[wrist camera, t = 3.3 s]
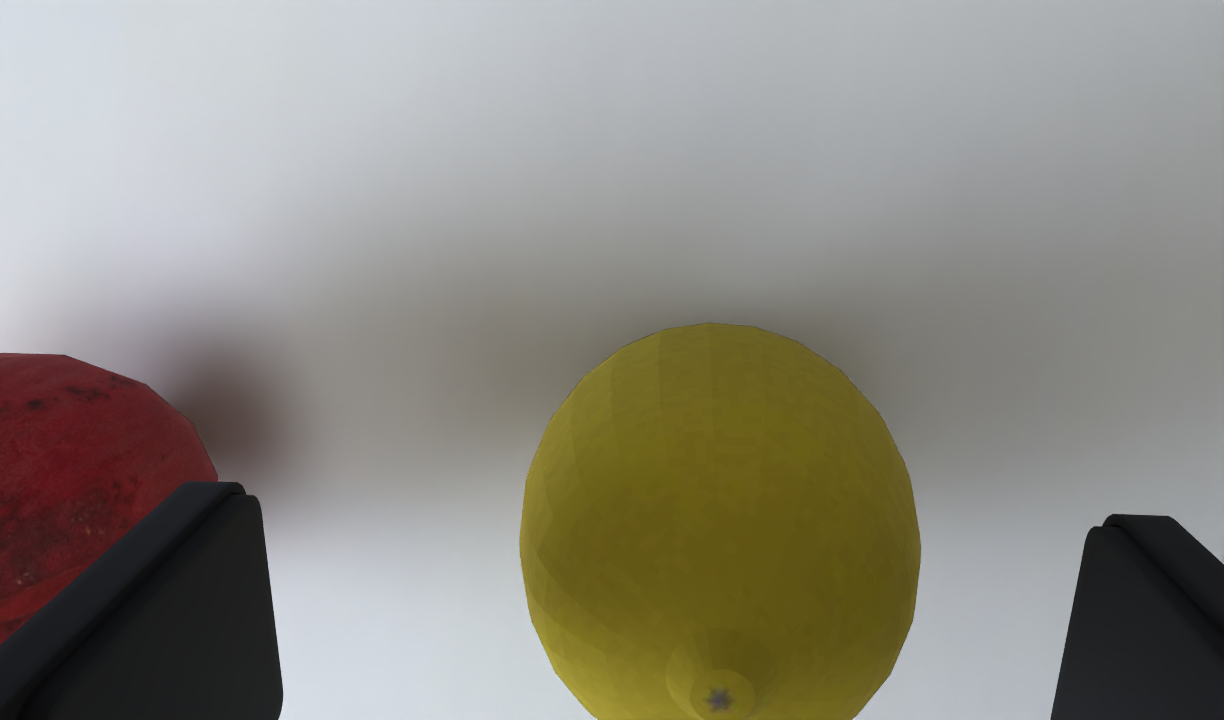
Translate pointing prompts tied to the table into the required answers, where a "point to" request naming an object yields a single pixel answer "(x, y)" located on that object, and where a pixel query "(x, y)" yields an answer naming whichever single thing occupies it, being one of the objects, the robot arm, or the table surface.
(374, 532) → the table surface
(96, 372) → the onion
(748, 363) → the lemon
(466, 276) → the table surface
